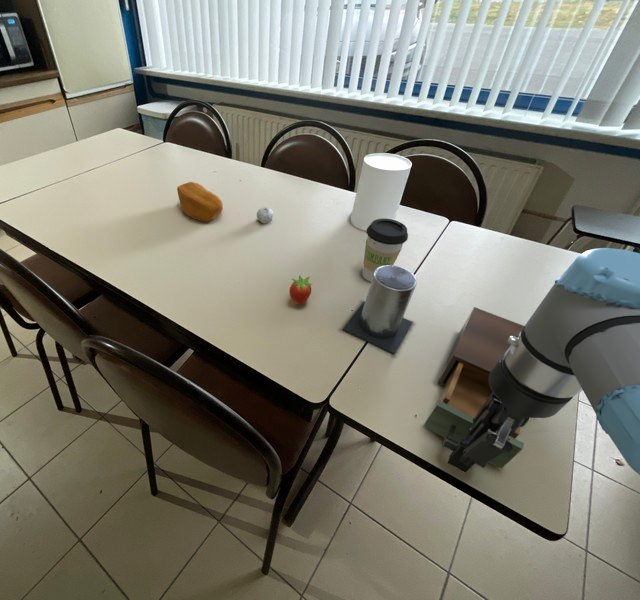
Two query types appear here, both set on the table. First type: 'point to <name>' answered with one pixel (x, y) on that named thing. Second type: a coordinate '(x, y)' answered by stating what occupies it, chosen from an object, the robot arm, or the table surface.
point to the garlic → (265, 215)
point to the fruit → (300, 290)
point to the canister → (379, 188)
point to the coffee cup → (382, 245)
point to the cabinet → (481, 342)
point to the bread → (199, 202)
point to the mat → (385, 344)
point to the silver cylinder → (387, 301)
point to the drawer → (465, 410)
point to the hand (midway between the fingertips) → (457, 464)
